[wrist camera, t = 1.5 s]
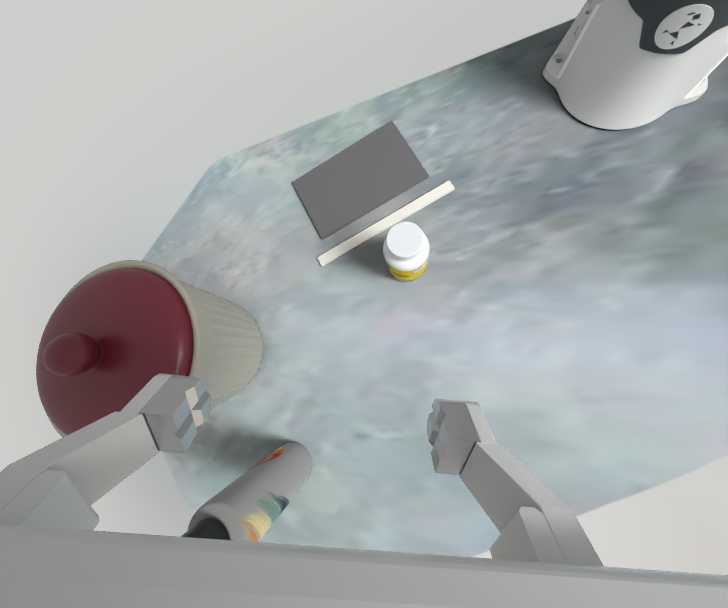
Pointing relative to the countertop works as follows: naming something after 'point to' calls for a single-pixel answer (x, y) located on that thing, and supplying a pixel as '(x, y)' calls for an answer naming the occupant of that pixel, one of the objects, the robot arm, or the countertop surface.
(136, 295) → the canister
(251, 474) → the lotion bottle
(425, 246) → the supplement bottle
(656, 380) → the countertop surface
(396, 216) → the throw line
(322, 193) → the mat
